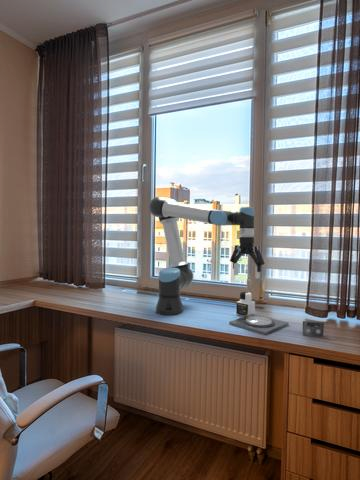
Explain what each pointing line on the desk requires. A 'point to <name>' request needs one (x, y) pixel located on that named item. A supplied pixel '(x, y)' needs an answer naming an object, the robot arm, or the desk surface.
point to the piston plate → (259, 324)
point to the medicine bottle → (245, 304)
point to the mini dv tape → (313, 328)
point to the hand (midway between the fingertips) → (246, 276)
